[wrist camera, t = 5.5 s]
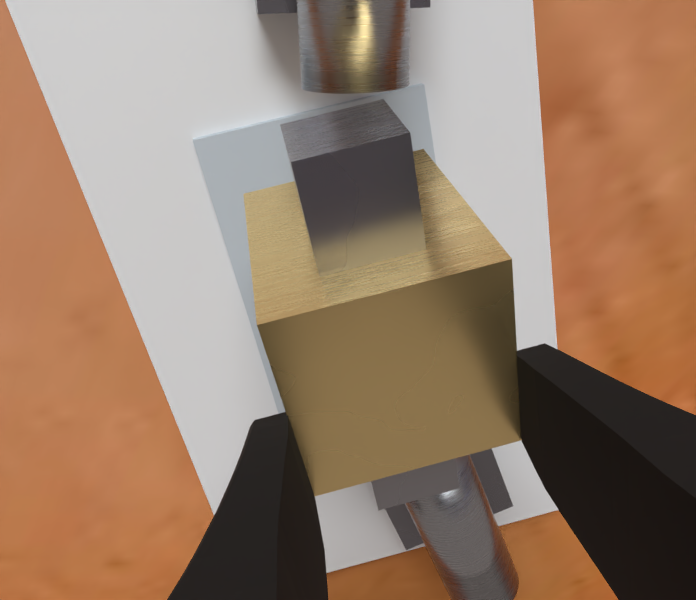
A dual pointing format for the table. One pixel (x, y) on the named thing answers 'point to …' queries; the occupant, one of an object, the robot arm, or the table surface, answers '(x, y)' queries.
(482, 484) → the shaft
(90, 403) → the table surface
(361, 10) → the shaft
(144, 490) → the table surface
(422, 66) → the bench
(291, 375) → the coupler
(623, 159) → the table surface
